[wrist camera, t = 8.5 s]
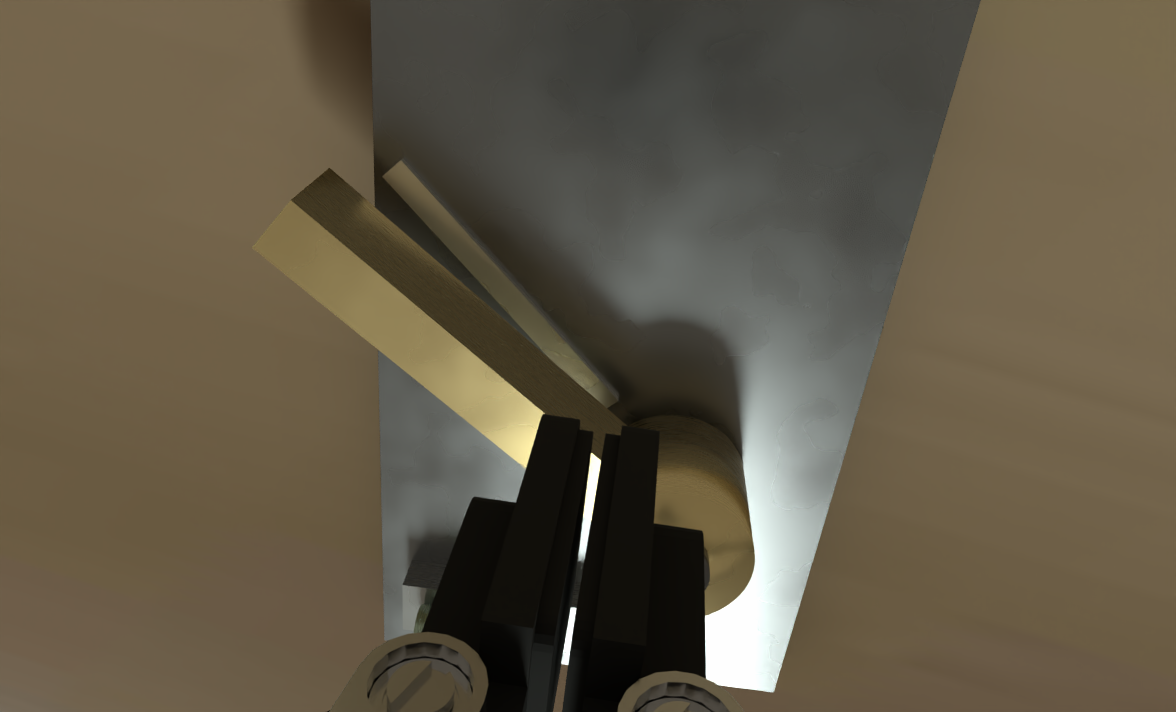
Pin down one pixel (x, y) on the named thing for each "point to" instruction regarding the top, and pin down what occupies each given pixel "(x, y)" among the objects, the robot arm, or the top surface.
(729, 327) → the flat grey rectangular plate
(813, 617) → the top surface
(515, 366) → the lever with round hub
